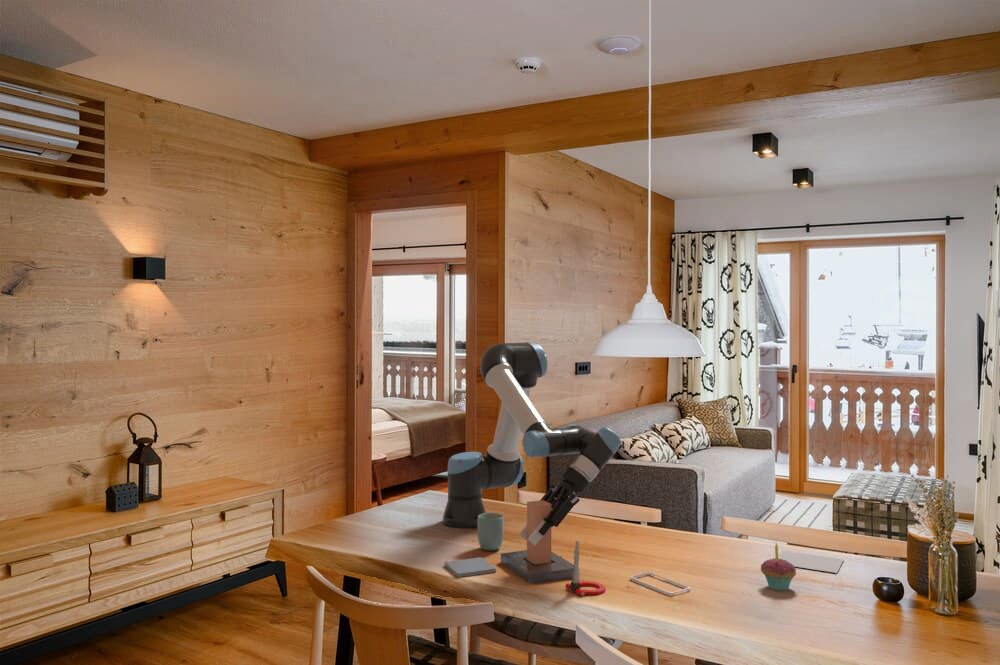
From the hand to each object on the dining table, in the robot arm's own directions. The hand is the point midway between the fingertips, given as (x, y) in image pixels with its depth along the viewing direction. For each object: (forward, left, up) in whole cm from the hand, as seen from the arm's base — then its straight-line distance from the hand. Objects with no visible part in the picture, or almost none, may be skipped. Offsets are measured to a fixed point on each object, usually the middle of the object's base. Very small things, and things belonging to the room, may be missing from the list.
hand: (526, 539), depth 207 cm
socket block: (-2, +3, -9) cm, 9 cm away
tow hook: (+14, +15, -9) cm, 23 cm away
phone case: (+10, +34, -9) cm, 37 cm away
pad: (-2, -16, -9) cm, 18 cm away
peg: (-2, +3, -6) cm, 7 cm away
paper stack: (-12, +86, -9) cm, 87 cm away
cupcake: (+11, +64, -9) cm, 66 cm away
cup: (-21, -11, -9) cm, 25 cm away
